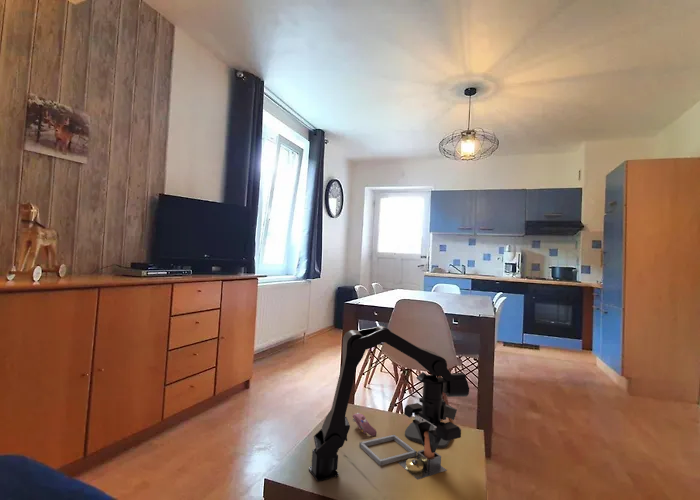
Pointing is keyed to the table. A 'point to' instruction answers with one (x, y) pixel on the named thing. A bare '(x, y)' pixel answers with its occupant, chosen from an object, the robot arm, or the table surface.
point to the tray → (384, 461)
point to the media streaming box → (414, 436)
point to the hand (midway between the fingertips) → (429, 449)
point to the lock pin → (427, 446)
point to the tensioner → (423, 465)
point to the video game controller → (364, 424)
